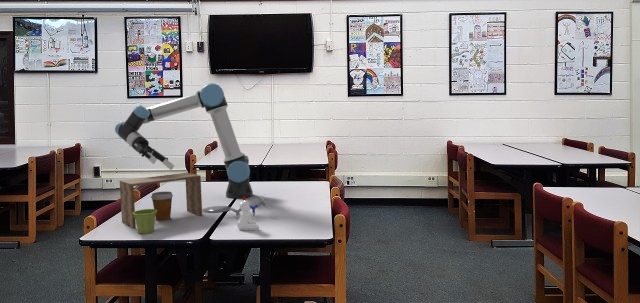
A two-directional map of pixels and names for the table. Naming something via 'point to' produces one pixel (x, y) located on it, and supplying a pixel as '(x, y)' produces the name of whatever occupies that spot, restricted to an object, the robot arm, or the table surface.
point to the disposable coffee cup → (162, 205)
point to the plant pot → (145, 220)
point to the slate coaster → (216, 209)
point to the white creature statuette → (246, 218)
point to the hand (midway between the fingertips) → (164, 164)
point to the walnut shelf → (191, 182)
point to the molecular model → (250, 207)
